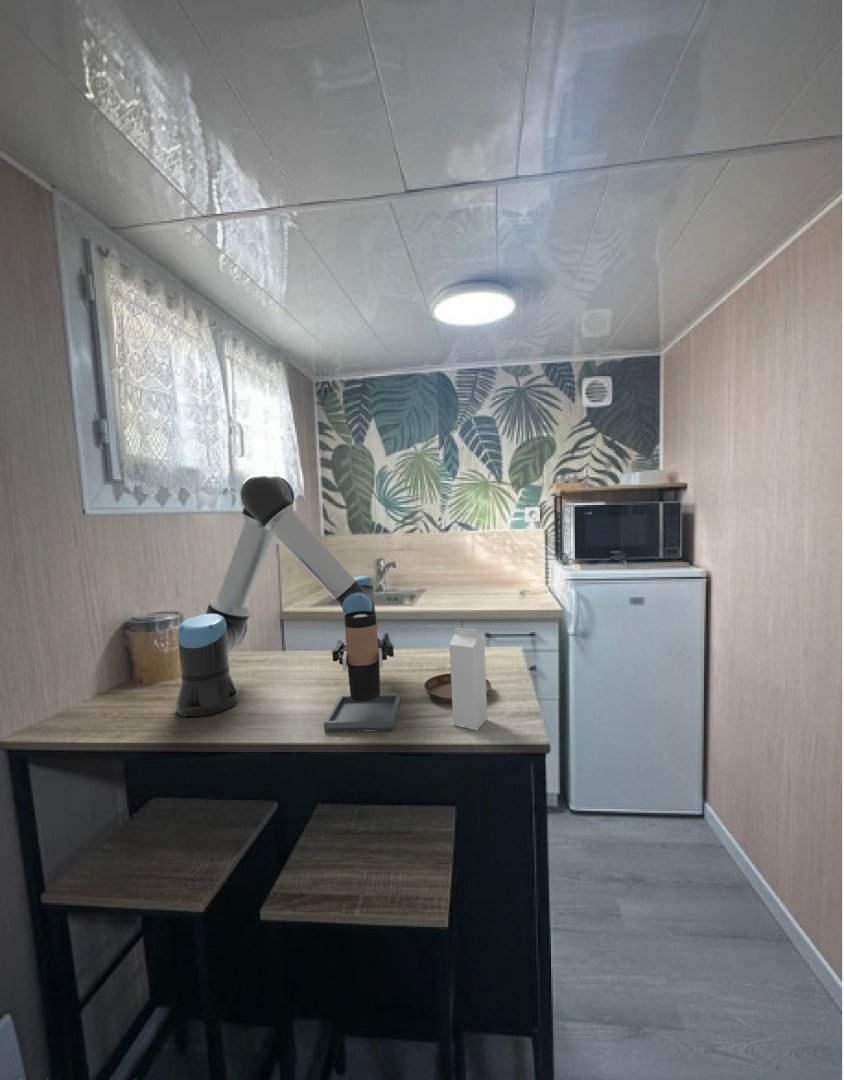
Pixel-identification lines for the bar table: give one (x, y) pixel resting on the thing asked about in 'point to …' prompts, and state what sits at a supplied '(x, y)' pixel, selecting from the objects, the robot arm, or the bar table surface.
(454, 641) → the milk
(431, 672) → the bar table surface
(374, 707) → the tray
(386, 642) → the robot arm
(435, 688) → the plant saucer
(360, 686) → the travel mug
